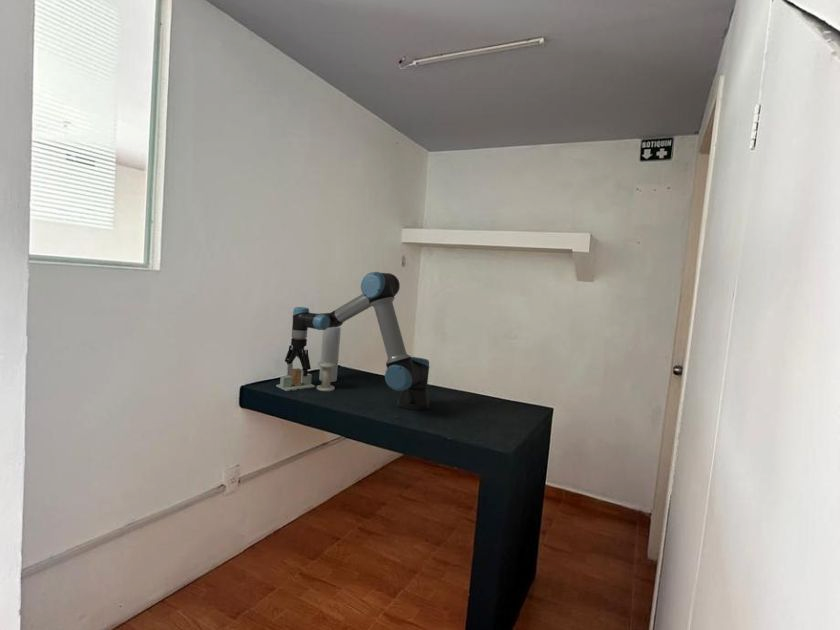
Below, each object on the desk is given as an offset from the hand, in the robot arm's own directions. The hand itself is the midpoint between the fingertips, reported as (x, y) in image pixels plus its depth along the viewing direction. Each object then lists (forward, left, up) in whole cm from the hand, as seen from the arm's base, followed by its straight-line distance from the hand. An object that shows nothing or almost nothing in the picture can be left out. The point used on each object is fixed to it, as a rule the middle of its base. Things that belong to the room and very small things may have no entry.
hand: (296, 379), depth 226 cm
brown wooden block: (0, 0, -3) cm, 3 cm away
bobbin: (-10, -11, -4) cm, 15 cm away
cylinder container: (+5, -23, -4) cm, 24 cm away
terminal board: (0, 0, -4) cm, 4 cm away
